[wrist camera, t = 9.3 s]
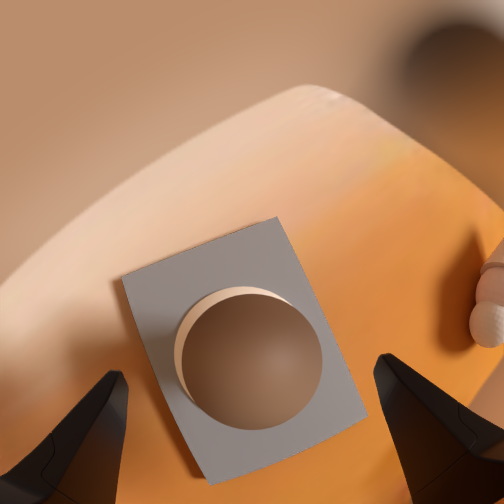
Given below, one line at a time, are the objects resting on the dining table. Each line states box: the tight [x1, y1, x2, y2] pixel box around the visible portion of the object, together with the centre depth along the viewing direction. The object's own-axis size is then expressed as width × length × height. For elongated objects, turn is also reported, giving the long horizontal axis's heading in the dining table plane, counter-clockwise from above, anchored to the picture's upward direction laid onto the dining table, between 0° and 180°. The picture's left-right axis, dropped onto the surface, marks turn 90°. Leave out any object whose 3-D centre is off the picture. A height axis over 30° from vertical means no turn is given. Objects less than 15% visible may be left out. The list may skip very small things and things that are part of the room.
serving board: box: [121, 217, 368, 485], centre depth 19 cm, size 16×12×2 cm
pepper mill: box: [181, 294, 323, 430], centre depth 13 cm, size 4×4×10 cm
